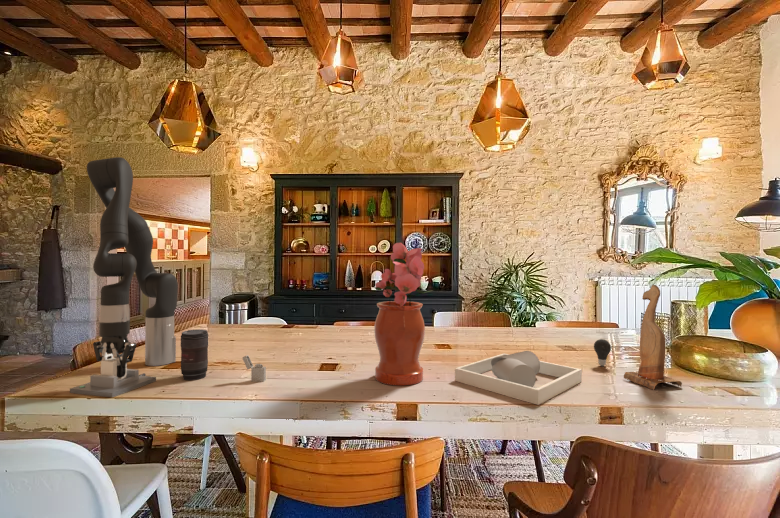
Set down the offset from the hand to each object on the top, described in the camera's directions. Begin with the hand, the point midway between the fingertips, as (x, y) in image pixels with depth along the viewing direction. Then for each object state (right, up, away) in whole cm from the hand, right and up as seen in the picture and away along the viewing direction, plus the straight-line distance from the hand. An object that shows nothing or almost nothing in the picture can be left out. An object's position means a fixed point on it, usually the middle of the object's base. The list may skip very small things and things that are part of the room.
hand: (114, 376), depth 117 cm
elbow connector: (+125, -5, +8) cm, 125 cm away
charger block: (0, -1, 0) cm, 1 cm away
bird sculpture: (+167, -5, +7) cm, 167 cm away
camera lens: (+19, -4, +10) cm, 22 cm away
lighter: (+40, -4, +7) cm, 40 cm away
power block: (+1, -3, +2) cm, 4 cm away
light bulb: (+162, -5, +27) cm, 164 cm away
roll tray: (+125, -4, +9) cm, 125 cm away
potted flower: (+87, -4, +12) cm, 88 cm away
